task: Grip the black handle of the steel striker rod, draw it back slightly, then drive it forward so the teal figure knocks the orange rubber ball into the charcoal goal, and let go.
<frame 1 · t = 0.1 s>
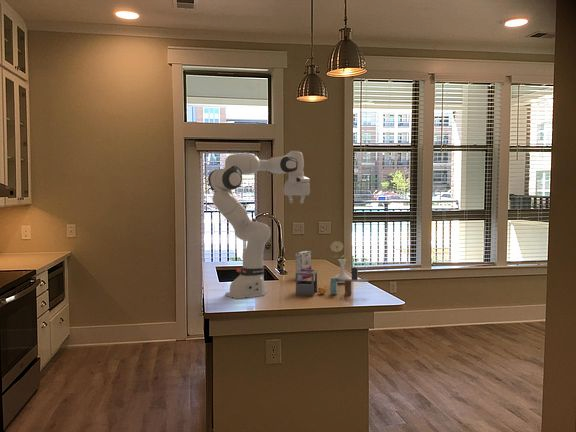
hand: (296, 203, 288), 48 cm above the countertop, fingers open, 8 cm apart
striker rod: (349, 280, 264), point 8 cm above the countertop, slide at 0.0 cm
goal: (306, 293, 269), on the countertop
rod cradle: (348, 295, 264), on the countertop
candy bar box: (303, 277, 317), on the countertop
flower in vase: (341, 283, 299), on the countertop
ball: (321, 290, 267), point 2 cm above the countertop
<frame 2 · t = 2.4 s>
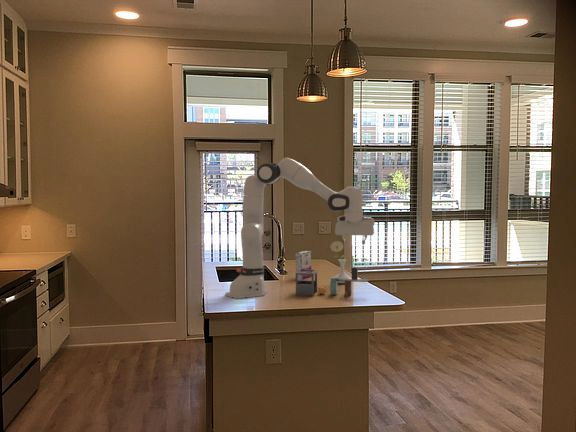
hand: (354, 243, 262), 27 cm above the countertop, fingers open, 8 cm apart
nothing on the countertop moved.
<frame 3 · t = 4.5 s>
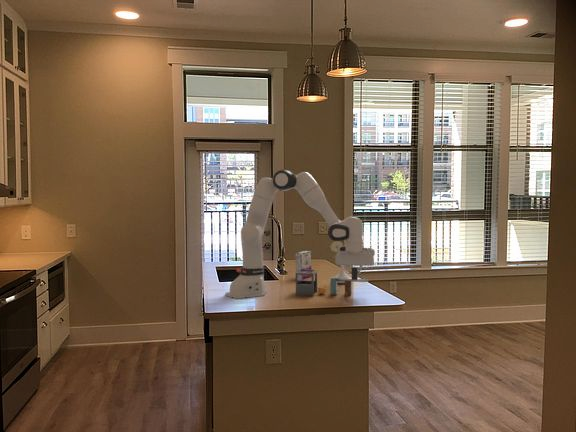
hand: (354, 273, 263), 11 cm above the countertop, fingers closed on striker rod, 3 cm apart
striker rod: (349, 280, 264), point 8 cm above the countertop, slide at 0.0 cm, touching gripper
everything else where it was.
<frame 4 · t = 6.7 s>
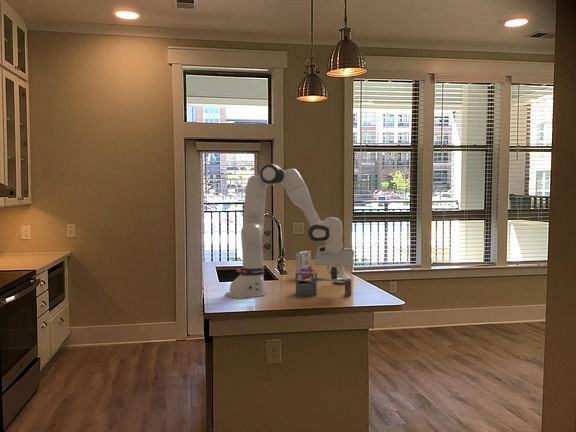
hand: (334, 273, 265), 11 cm above the countertop, fingers closed on striker rod, 3 cm apart
striker rod: (329, 279, 266), point 8 cm above the countertop, slide at 10.8 cm, touching gripper
ball: (304, 289, 269), point 2 cm above the countertop, tilted 97°
everything else where it was.
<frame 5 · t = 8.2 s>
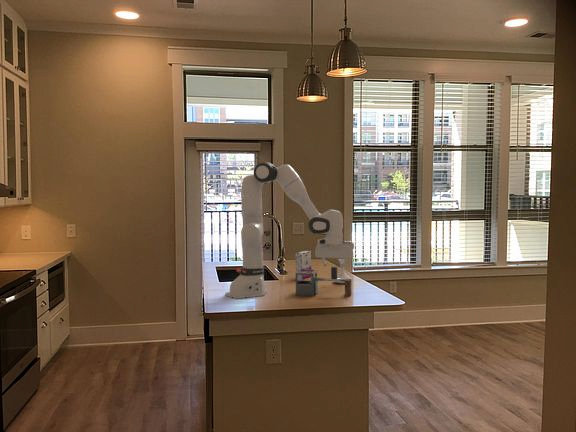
hand: (334, 266, 265), 15 cm above the countertop, fingers open, 8 cm apart
striker rod: (329, 279, 266), point 8 cm above the countertop, slide at 10.7 cm
ball: (307, 290, 269), point 2 cm above the countertop, tilted 142°
everything else where it was.
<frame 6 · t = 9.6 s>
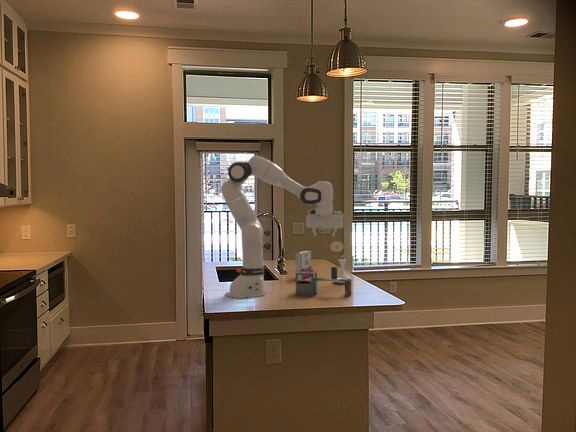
hand: (324, 236, 271), 30 cm above the countertop, fingers open, 8 cm apart
nothing on the countertop moved.
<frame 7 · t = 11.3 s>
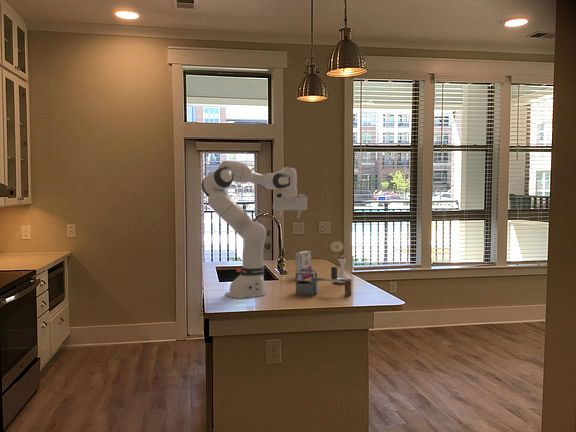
hand: (290, 217, 296), 39 cm above the countertop, fingers open, 8 cm apart
nothing on the countertop moved.
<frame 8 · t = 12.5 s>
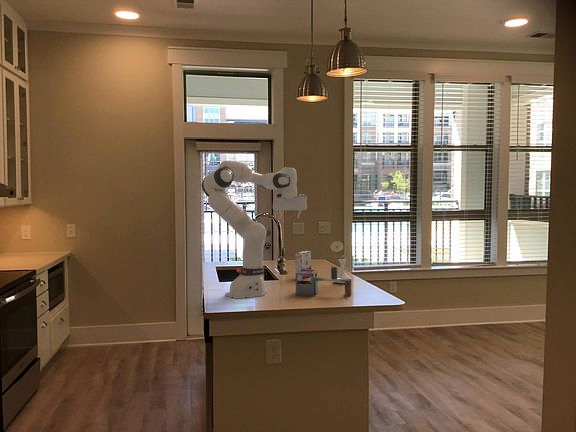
hand: (290, 217, 296), 39 cm above the countertop, fingers open, 8 cm apart
nothing on the countertop moved.
at the end: ball 0.3 cm from the goal (horizontally); ball point 2.0 cm above the countertop; striker rod slide at 10.7 cm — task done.
